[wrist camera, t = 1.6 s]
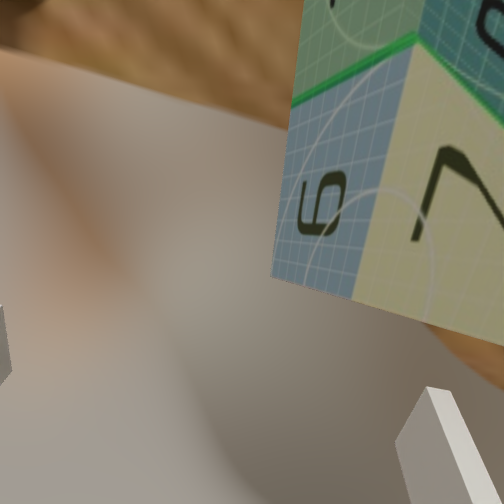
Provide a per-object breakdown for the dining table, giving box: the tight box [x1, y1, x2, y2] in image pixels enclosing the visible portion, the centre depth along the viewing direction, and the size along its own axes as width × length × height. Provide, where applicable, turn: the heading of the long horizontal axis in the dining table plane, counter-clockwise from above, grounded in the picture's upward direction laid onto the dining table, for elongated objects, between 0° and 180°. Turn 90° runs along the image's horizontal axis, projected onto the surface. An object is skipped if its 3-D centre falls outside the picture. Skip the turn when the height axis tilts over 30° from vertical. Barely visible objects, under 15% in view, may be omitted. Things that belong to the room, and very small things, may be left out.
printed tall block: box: [270, 0, 504, 346], centre depth 20 cm, size 17×16×30 cm
